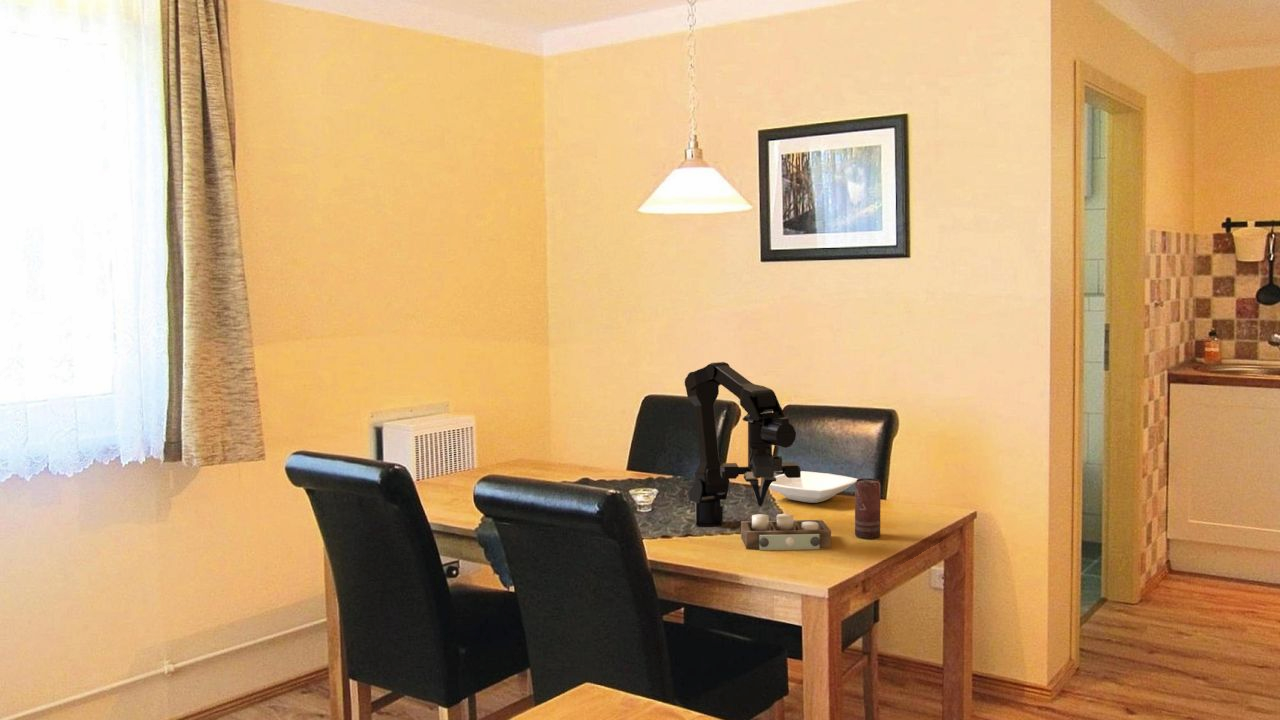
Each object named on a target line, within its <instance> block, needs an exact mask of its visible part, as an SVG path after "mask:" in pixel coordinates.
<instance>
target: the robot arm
mask: <svg viewBox="0 0 1280 720" xmlns="http://www.w3.org/2000/svg"><path fill="white" fill-rule="evenodd" d="M684 386H685V390H686V396H687V398H688V400H689V401H690V402H691V404H692V405H693V407H694V413H695V414H694V415H695V423H696V424H695V425H696V426H695V427H696V433H697V434H696V436H697V443H698V446H697V447H698V454H699V455H698V456H699V463H698V466H697V468H696V470H695V473H694V483H693V484H692V486H691V488H690V489H689V490H688V492H687V495H688V500H689V501H691V502H692V503H693V502H694V503H695V505H694V506H695V507H694V511H695V513H694V514H695V518H694V524H695V526H696V527H718V526H719V527H721V526H722V523H723V518H724V517H723V516H724V515H723V512H724V511H723V505H722V504H721V501H723V500H727V495H728V492H729V489H730V488H729V487H730V480H732V479H733V480H734V479H737V478H738V477H739V475H743V478H744V481H745V482H746V483H750V486H751V488H752V491H753V493H754V496H755V500H756V503H757V506H758V507H762V506H763V504H764V500H765V498H766V495H767V493H768V489H769V486H770V484H771V483H772V482H773V481H776V480H777V479H776V478H775V476H777V475H781V474H784V475H785V476H786V477H787V478H799V477H801V471H802V470H801V467H800V465H799V464H797V463H796V462H795V461H792V462H788V461H787V462H783V457H782V456H781V455H779V456H778V455H774V456H773V446H774V447H780V448H784V449H785V448H789V447H791V446H792V445H793V444H794V442H795V441H796V437H797V432H796V430H795V427H794V426H793V425H792V424H791V423H790V418H789V417H785V414H784V410H783V408H782V406H781V404H780V402H779V399H778V397H777V396H776V393H775V391H774V390H773V389H771V388H769V387H766V386H764V385H759V384H755V383H752V382H751V381H750V380H748V379H747V378H746V377H744V376H743V375H742V374H740V373H739V372H738V371H736V370H735V369H733V368H732V367H731V366H730V364H729V363H727V362H725V361H721V362H718V361H717V362H710V363H708V364H707V365H706V366H703V367H702V368H699V369H697V370H694V371H690V372H688V374H687V376H686V377H685V379H684ZM720 386H722V387H724V388H725V389H726V390H727V391H728V392H730V393H732V394H733V395H734V396H735V397H737V398H738V399H739V405H740V406H741V407H742V409H743V410H744V411H745V412H746V413H747V414H746V415H745V416H744V417H742V420H743V422H747V466H738V463H737V462H723V463H722V462H721V461H720V456H719V454H720V453H719V445H718V444H719V443H718V435H717V425H716V416H715V415H716V414H715V402H716V400H717V398H718V396H719V390H720ZM759 479H760V482H759ZM759 483H760V485H759ZM759 486H760V487H759Z"/></svg>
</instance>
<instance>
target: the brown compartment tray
mask: <svg viewBox="0 0 1280 720" xmlns="http://www.w3.org/2000/svg"><path fill="white" fill-rule="evenodd" d="M808 521H810V522H817V523H818V530H802V522H808ZM789 534H819V540H820V543H819V549H820V548H823V549H824V548H825V547H826V548H832V530H831V529H830V528H829V526H828V525H827V524H826V522H825V521H824V520H823V519H803V520H802V519H800V520H799V519H795V520H794V528H793V529H791V530H780V529H777V520H769V529H768V530H753V529H752V520H744V521H743V520H742V521H740V535H741V536H740V537H741V540H742V543H743V544H744V547H745V549H746V550H754V549H755V550H758V549H759V550H760V543H759V541H760V535H789Z"/></svg>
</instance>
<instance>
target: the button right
mask: <svg viewBox="0 0 1280 720" xmlns="http://www.w3.org/2000/svg"><path fill="white" fill-rule="evenodd" d="M802 530H818V523H817V522H810V521H808V522H802Z"/></svg>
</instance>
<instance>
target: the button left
mask: <svg viewBox="0 0 1280 720" xmlns="http://www.w3.org/2000/svg"><path fill="white" fill-rule="evenodd" d="M751 521H752V529H753V530H768V529H769V521H770V519H769V515H767V514H764V513H763V514H761V513H758V514H757V513H756V514H752V515H751Z"/></svg>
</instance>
